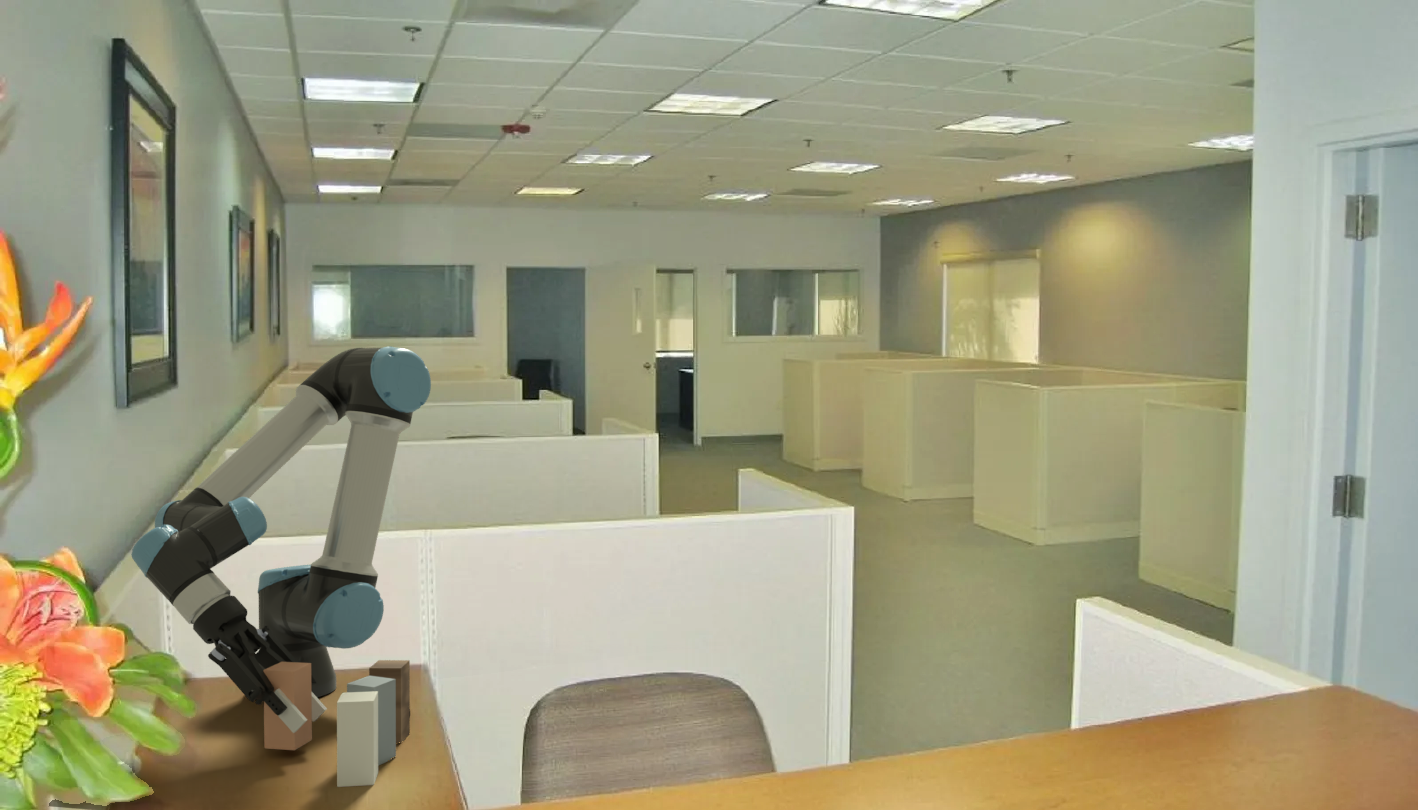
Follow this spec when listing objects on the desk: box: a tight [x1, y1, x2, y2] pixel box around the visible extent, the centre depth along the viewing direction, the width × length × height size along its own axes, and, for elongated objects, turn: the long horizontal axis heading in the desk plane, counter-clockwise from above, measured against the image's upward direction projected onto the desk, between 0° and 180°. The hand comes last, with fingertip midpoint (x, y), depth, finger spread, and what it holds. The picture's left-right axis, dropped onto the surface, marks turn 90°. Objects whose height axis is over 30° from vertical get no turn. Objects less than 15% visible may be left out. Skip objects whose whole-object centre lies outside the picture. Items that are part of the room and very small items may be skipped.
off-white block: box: [336, 691, 379, 788], centre depth 161 cm, size 5×5×12 cm
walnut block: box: [368, 659, 411, 744], centre depth 179 cm, size 5×5×12 cm
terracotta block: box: [263, 662, 313, 751], centre depth 172 cm, size 5×5×12 cm
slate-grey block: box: [346, 675, 397, 767], centre depth 169 cm, size 5×5×12 cm
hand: (310, 720), depth 172 cm, fingers closed on terracotta block, 5 cm apart
